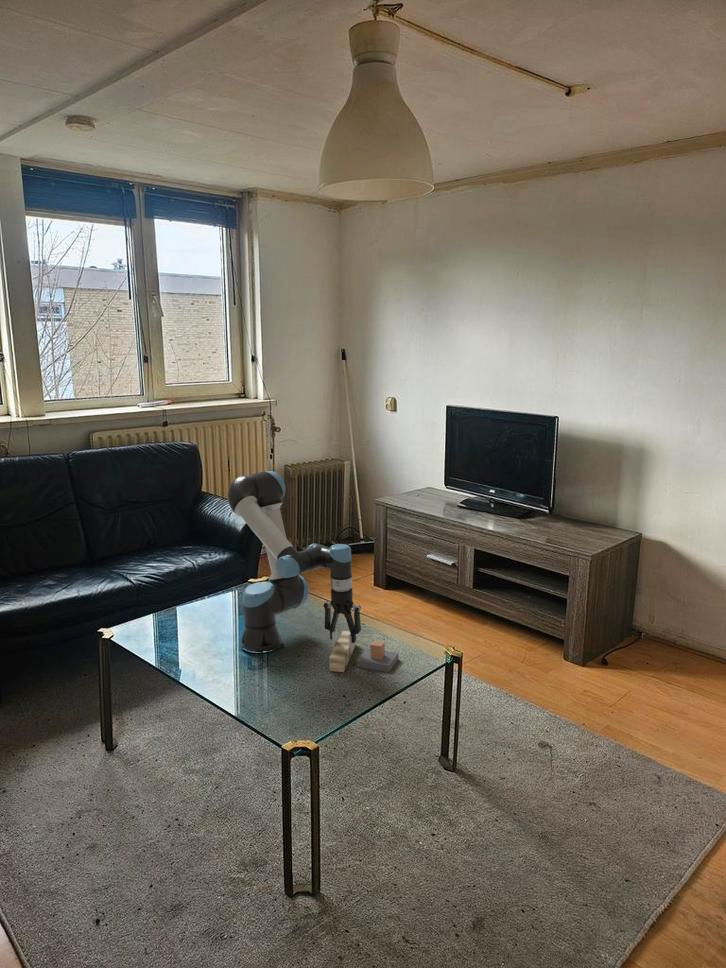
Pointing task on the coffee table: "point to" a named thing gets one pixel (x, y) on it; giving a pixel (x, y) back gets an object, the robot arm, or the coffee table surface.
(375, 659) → the fulcrum
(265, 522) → the robot arm
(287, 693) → the coffee table surface
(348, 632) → the beam
